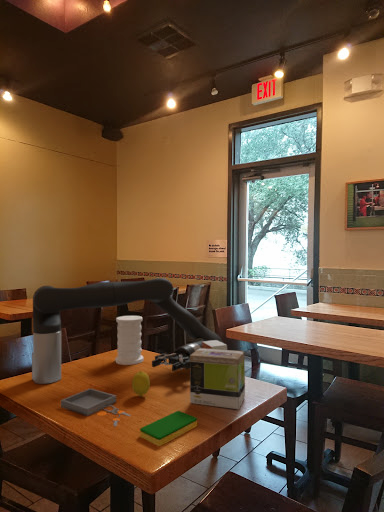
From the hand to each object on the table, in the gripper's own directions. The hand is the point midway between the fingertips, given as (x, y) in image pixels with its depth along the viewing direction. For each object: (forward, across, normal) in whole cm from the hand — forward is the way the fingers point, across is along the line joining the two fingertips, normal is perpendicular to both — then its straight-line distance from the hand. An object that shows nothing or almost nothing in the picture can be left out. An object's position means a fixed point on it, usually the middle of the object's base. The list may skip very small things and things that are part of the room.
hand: (162, 366), depth 124 cm
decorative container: (-16, -29, +7) cm, 34 cm away
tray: (+24, -9, +6) cm, 27 cm away
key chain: (+26, +2, +7) cm, 26 cm away
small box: (-15, +12, +7) cm, 20 cm away
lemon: (+11, 0, +7) cm, 13 cm away
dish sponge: (+25, +20, +7) cm, 33 cm away
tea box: (+1, +22, +7) cm, 23 cm away
